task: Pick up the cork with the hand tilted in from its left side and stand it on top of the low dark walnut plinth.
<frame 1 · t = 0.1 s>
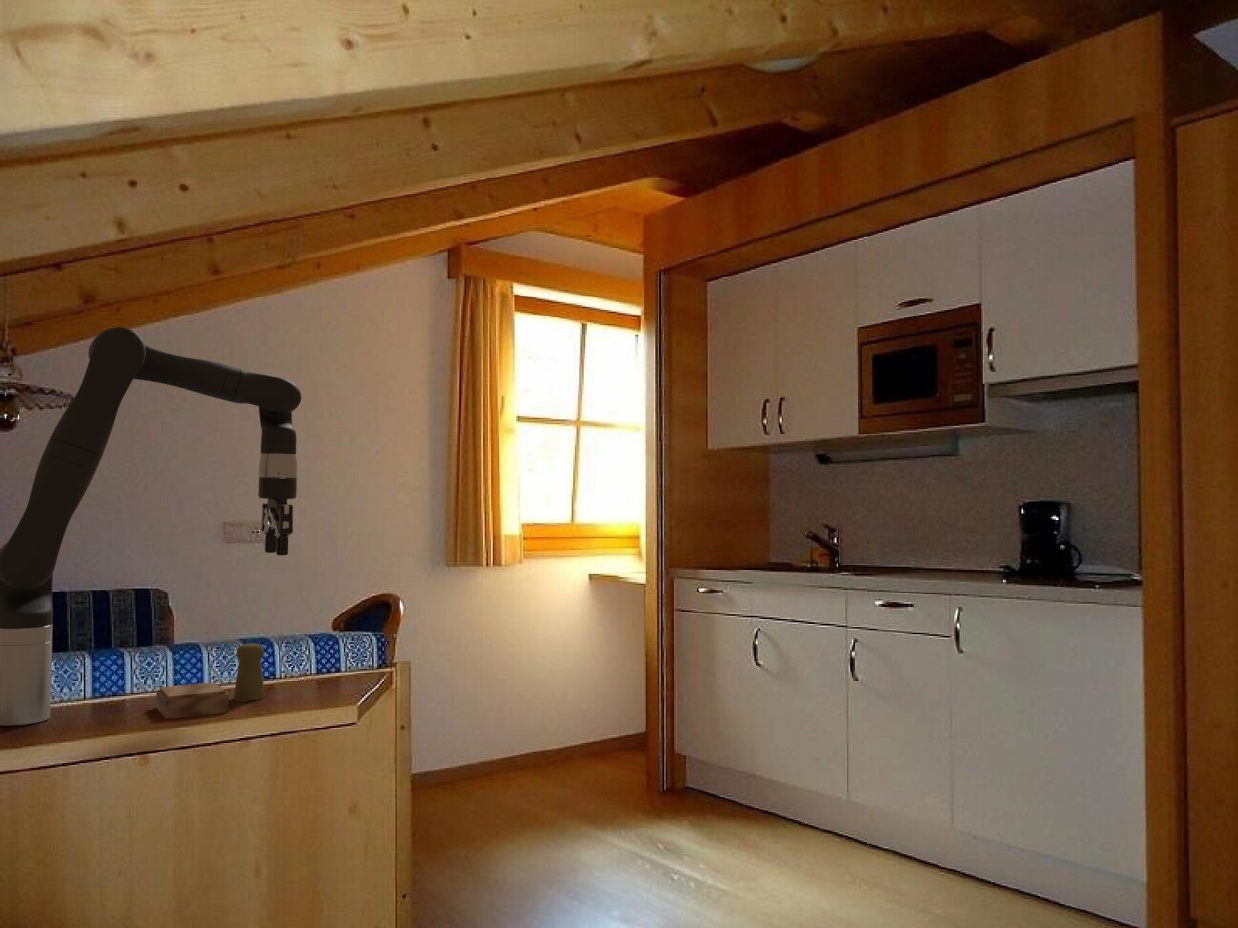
hand: (276, 553, 207), 29 cm above the table, tool pointing down, fingers open, 8 cm apart
cork: (249, 698, 203), on the table
plinth: (191, 709, 191), on the table
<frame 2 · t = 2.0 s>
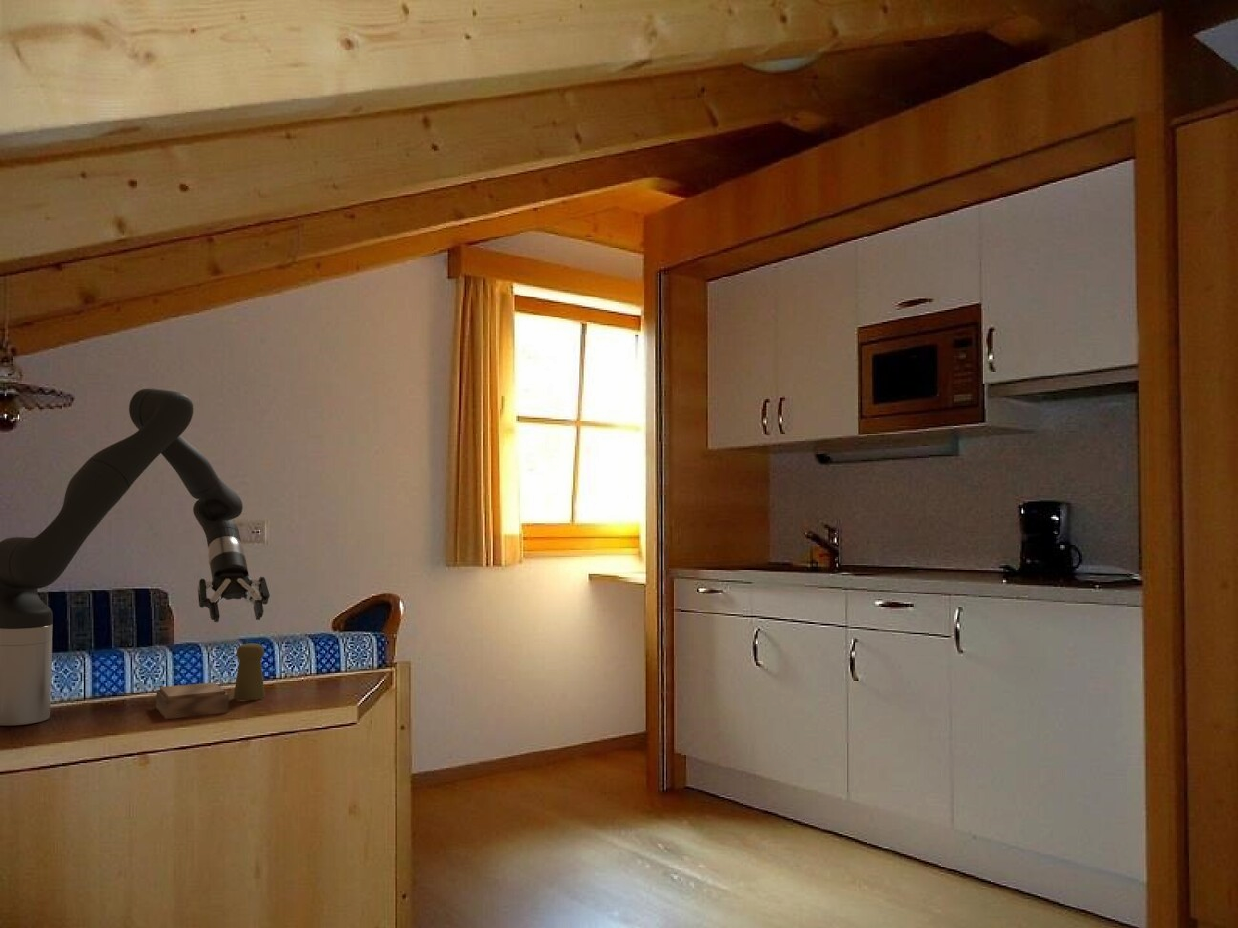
hand: (238, 618, 213), 15 cm above the table, tool tilted 45°, fingers open, 8 cm apart
nothing on the table moved.
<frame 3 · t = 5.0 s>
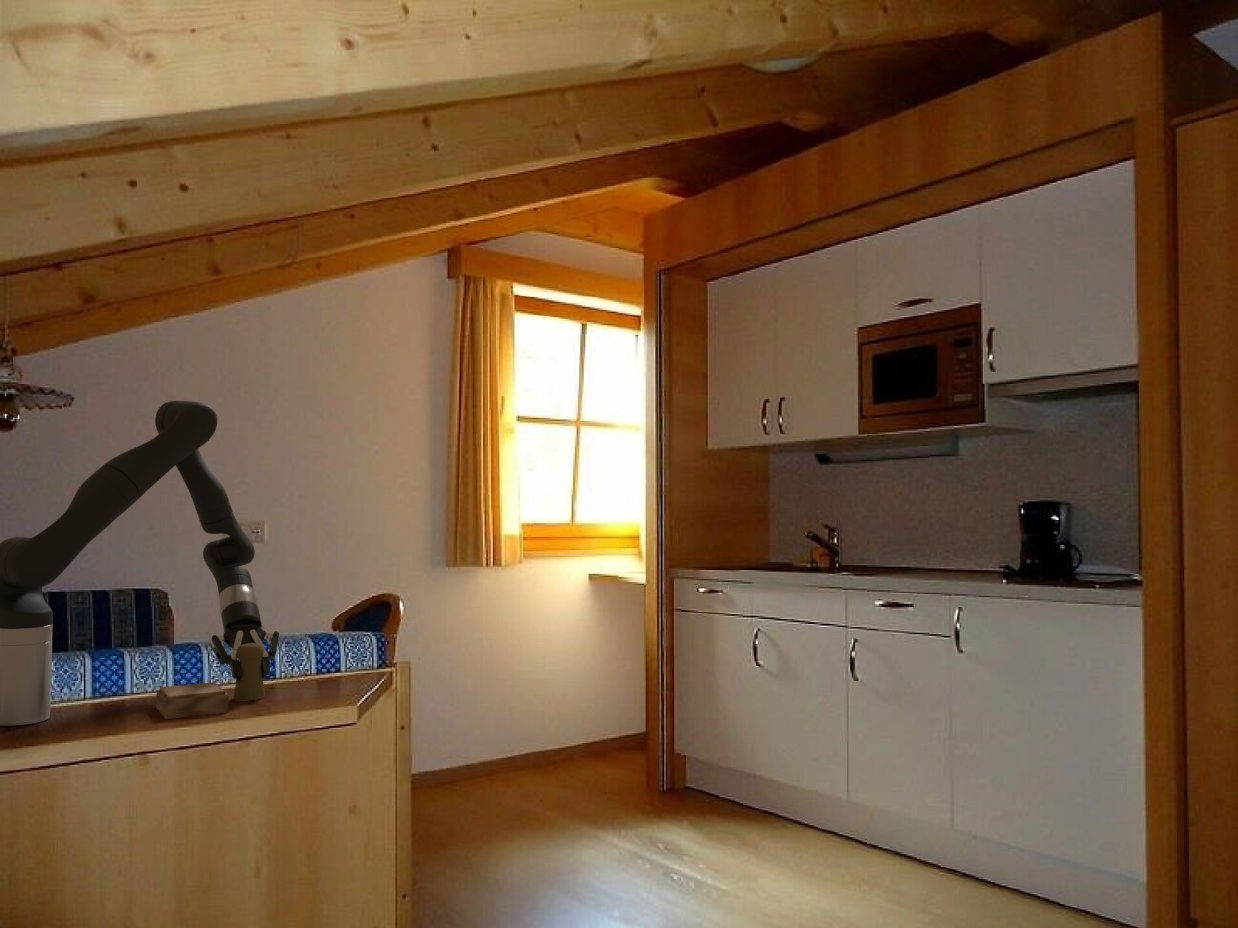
hand: (252, 676, 202), 5 cm above the table, tool tilted 45°, fingers closed on cork, 4 cm apart
cork: (249, 698, 203), on the table, touching gripper
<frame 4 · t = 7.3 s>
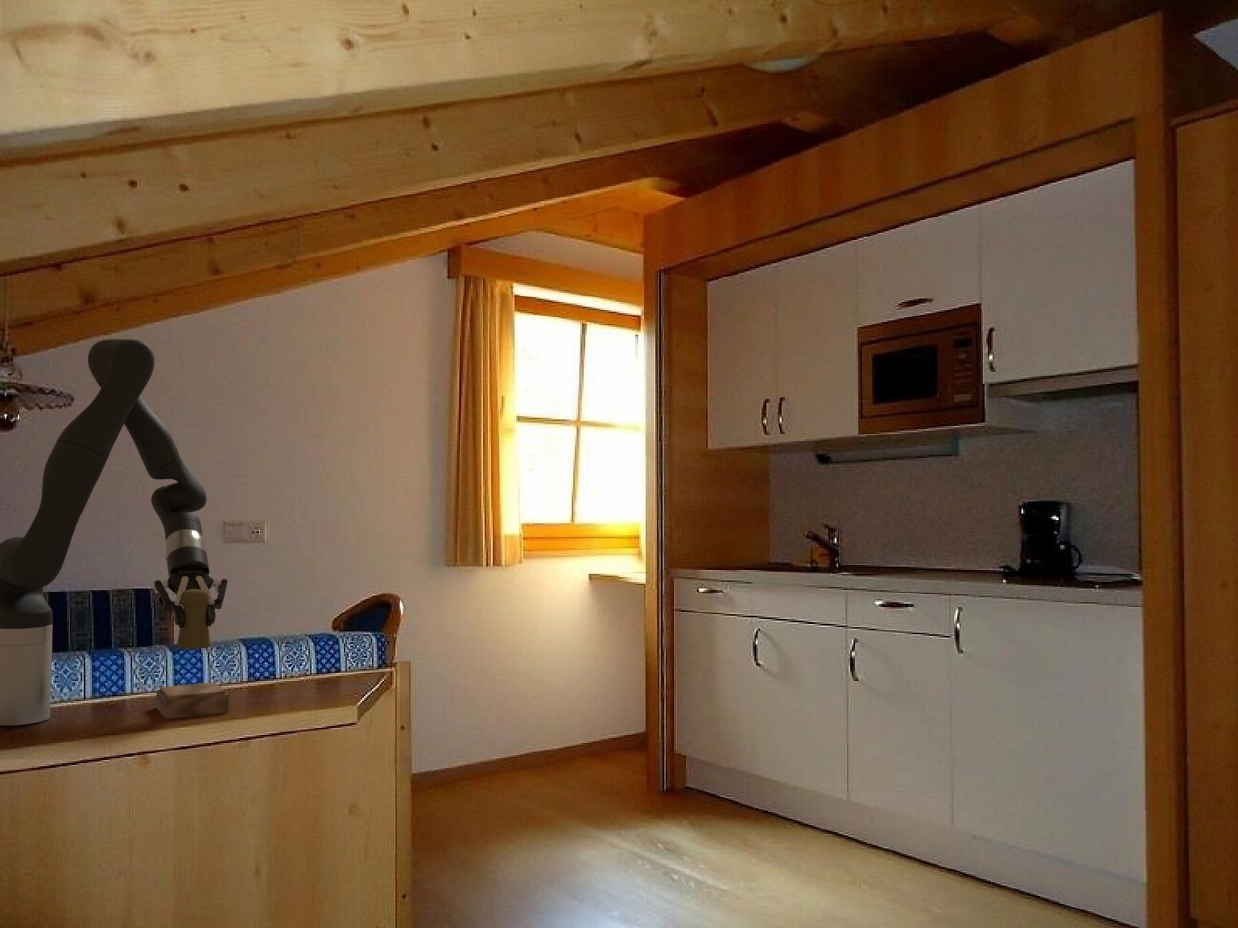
hand: (196, 623, 190), 17 cm above the table, tool tilted 45°, fingers closed on cork, 4 cm apart
cork: (193, 647, 192), point 12 cm above the table, touching gripper
when the fingers open (10 cm above the table, at t = 9.5 s): cork drops 1 cm, resting on plinth.
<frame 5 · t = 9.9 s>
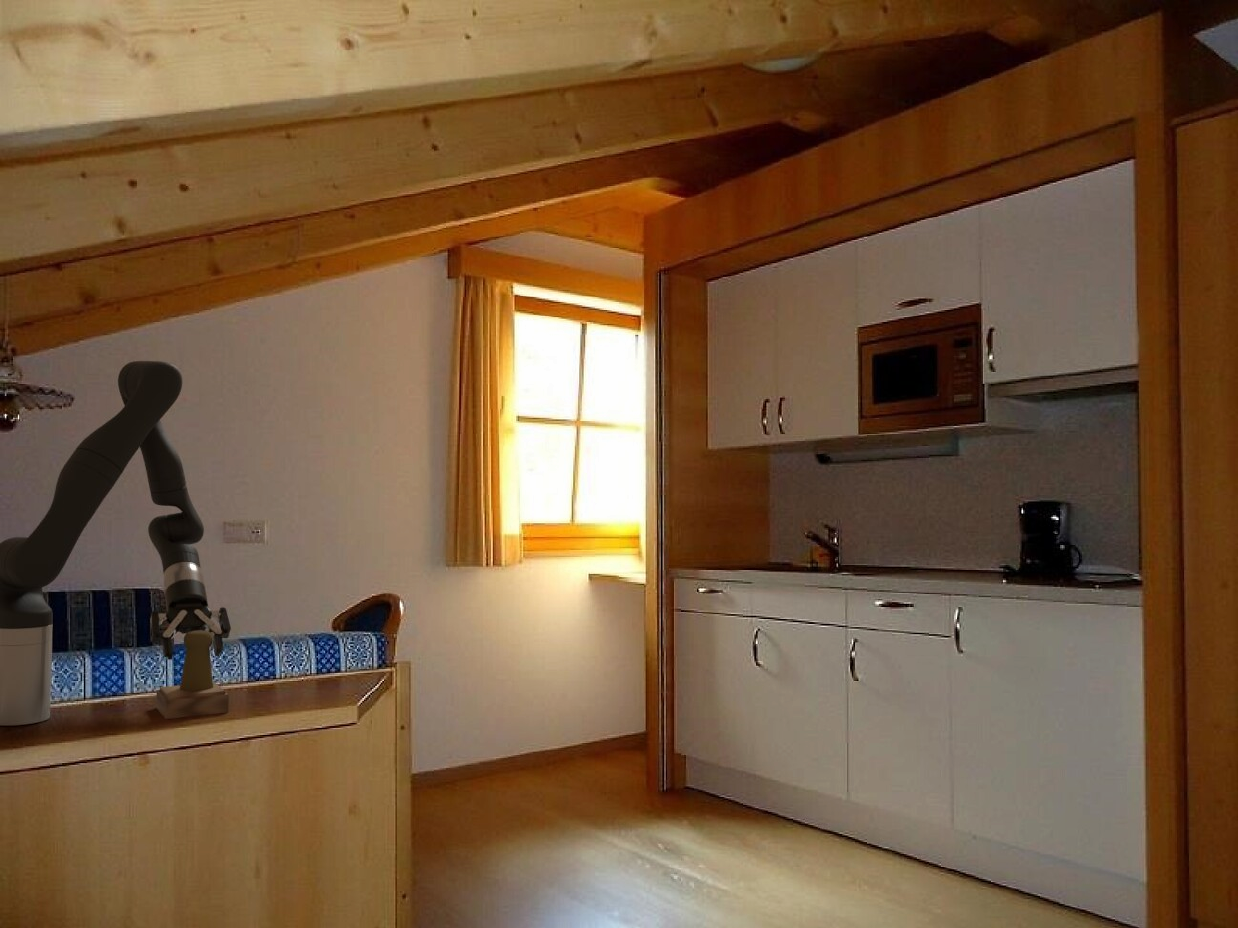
hand: (194, 655, 190), 11 cm above the table, tool tilted 45°, fingers open, 8 cm apart
cork: (196, 688, 193), point 4 cm above the table, touching plinth
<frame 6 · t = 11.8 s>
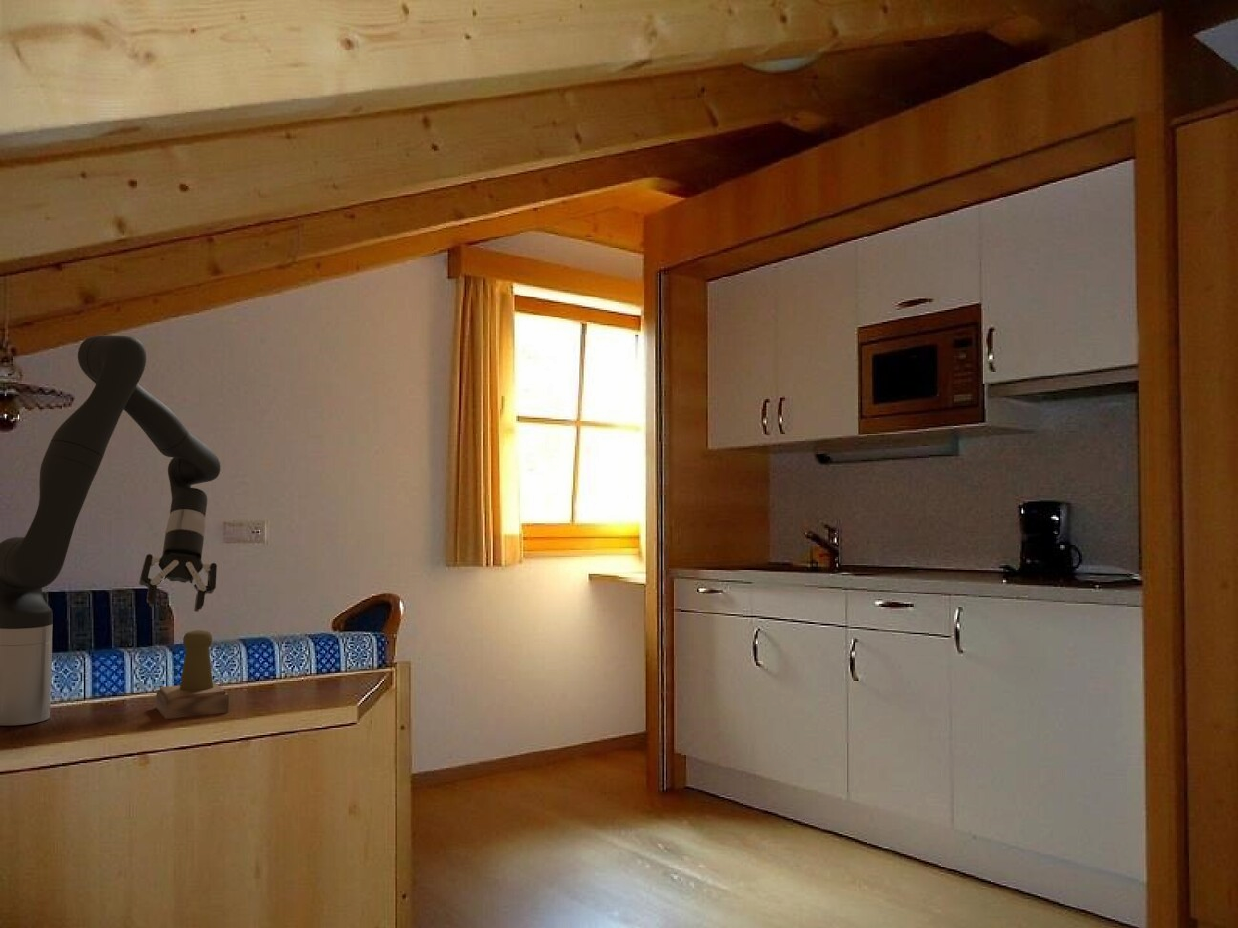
hand: (174, 607, 202), 18 cm above the table, tool tilted 30°, fingers open, 8 cm apart
nothing on the table moved.
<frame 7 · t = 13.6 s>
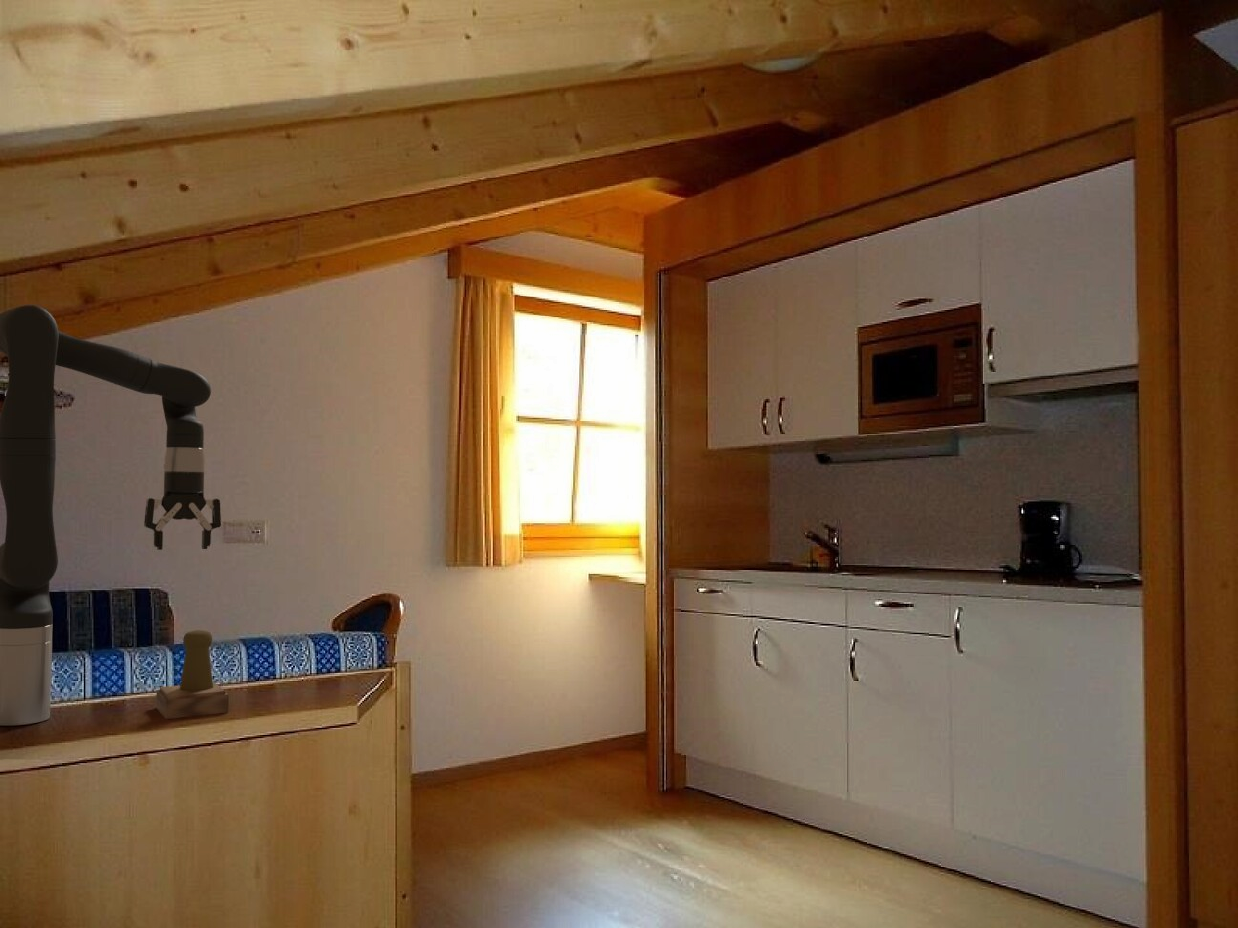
hand: (182, 549, 204), 30 cm above the table, tool pointing down, fingers open, 8 cm apart
nothing on the table moved.
at the end: cork inside the target area on the plinth (1.2 cm from its centre), point 3.8 cm above the plinth's base; cork tilted 0°; the gripper is holding nothing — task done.
